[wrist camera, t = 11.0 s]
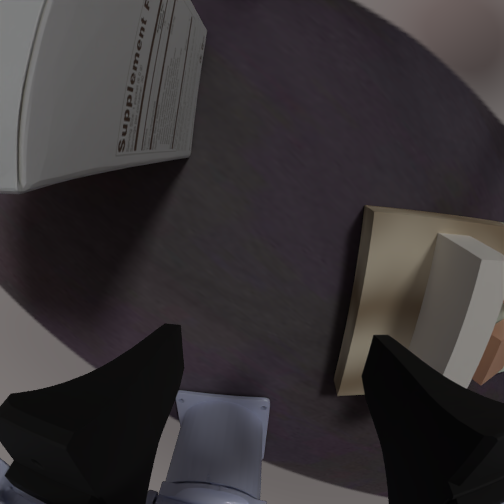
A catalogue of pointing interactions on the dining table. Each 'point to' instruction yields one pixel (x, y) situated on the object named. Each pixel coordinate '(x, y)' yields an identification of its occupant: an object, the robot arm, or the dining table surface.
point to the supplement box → (95, 87)
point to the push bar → (459, 306)
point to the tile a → (491, 356)
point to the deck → (396, 279)
